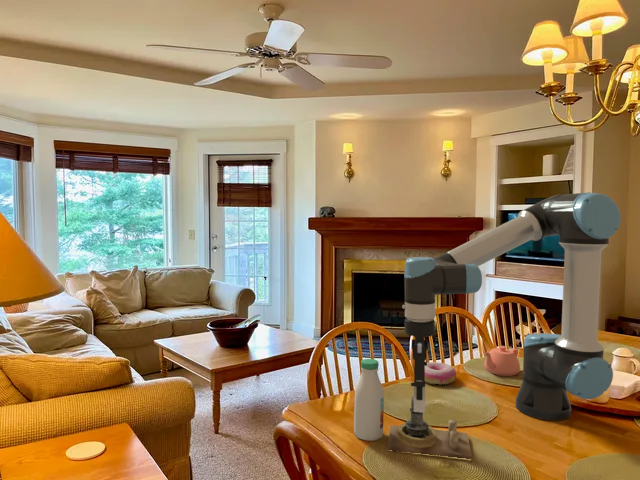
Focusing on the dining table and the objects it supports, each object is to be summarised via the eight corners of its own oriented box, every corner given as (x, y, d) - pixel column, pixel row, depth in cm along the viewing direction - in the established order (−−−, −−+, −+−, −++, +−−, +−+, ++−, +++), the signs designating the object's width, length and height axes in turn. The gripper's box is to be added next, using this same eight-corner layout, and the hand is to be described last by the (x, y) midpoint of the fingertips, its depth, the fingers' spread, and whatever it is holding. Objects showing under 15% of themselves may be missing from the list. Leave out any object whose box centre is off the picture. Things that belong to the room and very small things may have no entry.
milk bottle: (375, 444, 121) (376, 367, 119) (348, 436, 125) (349, 362, 123) (387, 432, 127) (389, 359, 126) (362, 425, 131) (363, 354, 130)
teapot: (530, 373, 176) (531, 347, 175) (497, 381, 167) (498, 354, 166) (502, 363, 186) (503, 339, 186) (470, 370, 177) (471, 346, 177)
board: (467, 437, 125) (467, 418, 124) (471, 461, 113) (472, 439, 113) (390, 429, 129) (391, 410, 129) (387, 451, 117) (387, 430, 117)
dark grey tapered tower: (428, 433, 124) (428, 388, 123) (428, 444, 118) (429, 397, 118) (405, 431, 125) (405, 387, 124) (405, 442, 119) (405, 395, 119)
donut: (436, 371, 177) (437, 358, 177) (464, 382, 165) (465, 368, 165) (409, 377, 170) (409, 363, 170) (436, 389, 159) (436, 375, 158)
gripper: (406, 307, 133) (406, 381, 134) (402, 330, 108) (402, 420, 110) (433, 308, 131) (433, 383, 132) (436, 331, 107) (435, 423, 108)
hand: (419, 400), depth 121 cm, fingers open, 13 cm apart
